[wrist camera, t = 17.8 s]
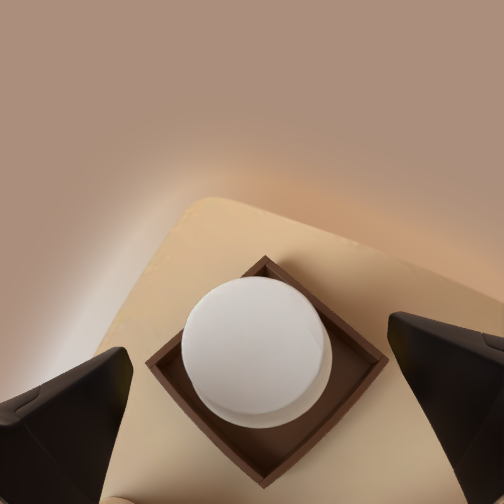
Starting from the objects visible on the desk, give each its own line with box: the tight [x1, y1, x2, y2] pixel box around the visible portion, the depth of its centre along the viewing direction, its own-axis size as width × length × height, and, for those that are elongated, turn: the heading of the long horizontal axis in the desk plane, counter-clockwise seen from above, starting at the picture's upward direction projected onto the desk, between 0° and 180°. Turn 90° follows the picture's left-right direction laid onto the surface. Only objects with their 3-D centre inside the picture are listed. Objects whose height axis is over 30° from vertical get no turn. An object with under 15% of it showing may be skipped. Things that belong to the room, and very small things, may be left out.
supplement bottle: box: [182, 277, 332, 428], centre depth 12 cm, size 5×5×10 cm
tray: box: [145, 255, 389, 489], centre depth 15 cm, size 10×10×2 cm
